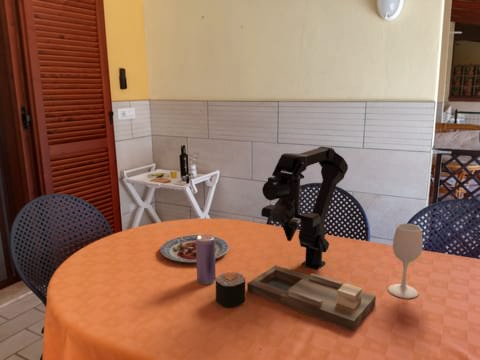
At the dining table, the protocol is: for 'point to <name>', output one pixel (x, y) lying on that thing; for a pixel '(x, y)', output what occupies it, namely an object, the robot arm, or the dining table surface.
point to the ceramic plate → (189, 248)
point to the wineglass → (406, 256)
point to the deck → (310, 296)
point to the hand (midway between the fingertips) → (289, 240)
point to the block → (349, 296)
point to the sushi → (230, 289)
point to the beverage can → (205, 259)
